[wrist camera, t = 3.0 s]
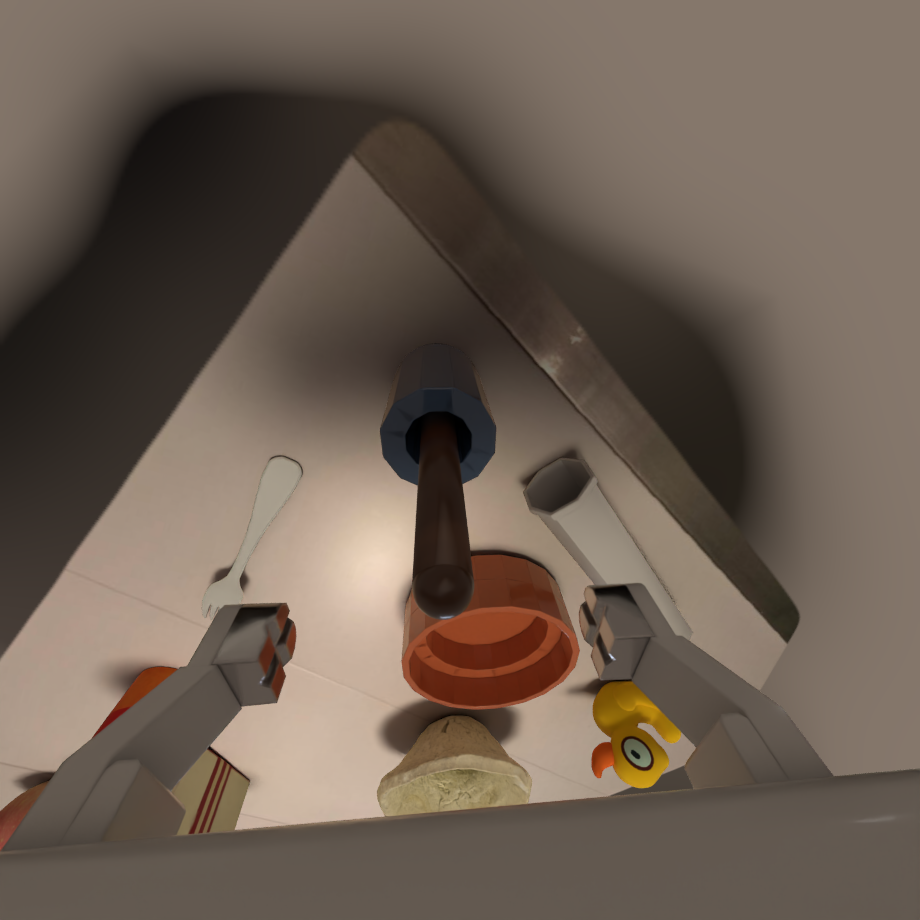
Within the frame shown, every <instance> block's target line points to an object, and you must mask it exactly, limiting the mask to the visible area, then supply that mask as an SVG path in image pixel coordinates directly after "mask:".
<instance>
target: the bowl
mask: <svg viewBox="0 0 920 920" xmlns="http://www.w3.org/2000/svg"><path fill="white" fill-rule="evenodd" d="M531 786H532V779H531V777H530V775H529V774H528V773H527V771H526V770H525V769H524V768H523V767H522V766H520V765H519V764H518V763H517V762H516V761H514V760H513V759H512V758H510V757H509V756H508V754H507V753H506V752H505V750H504V749H503V747H502V746H501V745H500V744H499V743H498V741H497V740H496V739H495V738H494V737H493V736H492V735H491V734H490V732H489V731H488V730H487V729H486V727H485V726H484V725H483V724H481V723H480V722H478V721H476V720H474V719H473V718H471V717H468V716H455V715H453V716H448V717H445V718H442V719H441V720H438V721H435V722H434V723H431V724H430V725H429V726H428V727H427V728H426V730H425V731H424V732H423V733H422V734H421V735H420V736H419V738H418V739H417V741H416V743H415V744H414V746H413V747H412V748H411V749H410V751H409V752H408V753H407V755H406V756H405V757H404V759H403V760H402V762H401V763H400V764H399V765H398V766H397V767H396V768H395V769H393V770H392V771H390V772H389V773H387V774H386V775H385V776H384V777H383V778H382V780H381V782H380V786H379V787H378V790H377V799H378V802H379V805H380V807H381V809H382V811H383V813H384V815H385V817H386V816H397V815H408V814H419V813H430V812H442V811H453V810H464V809H475V808H486V807H497V806H508V805H519V804H528V800H529V796H530V791H531Z"/></svg>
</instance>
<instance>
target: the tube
mask: <svg viewBox="0 0 920 920" xmlns="http://www.w3.org/2000/svg"><path fill="white" fill-rule="evenodd" d="M597 482H598V480H597V479H596V477H595V476H594V474H593V473H592V471H591V470H590V468H589V467H588V465H587V464H586V462H585V461H584V460H578V459H570V458H562V457H561V458H559V459H558V460H556V461H554V462H553V463H551V464H549V465H548V466H546V467H544V468H543V469H541V470H539V471H538V472H537V473H536V475H535V476H534V478H533V479H532V480H531V482H530V483H529V485H528V486H527V487H526V489H525V490H524V491H523V493H524V496H525V499H526V502H527V504H528V507H529V510H530V511H531V512H532V513H533V514H535V515H538V516H539V517H540V518H541V519H542V521H543V522H544V523H545V524H546V525H547V527H548V528H549V529H550V530H551V532H552V533H553V534H554V535H555V536H556V538H557V539H558V540H559V541H560V543H561V544H562V545H563V546H564V547H565V549H566V550H567V551H568V552H569V554H570V555H571V556H572V557H573V558H574V560H575V561H576V562H577V563H578V565H579V566H580V567H581V568H582V569H583V571H584V572H585V573H586V574H587V576H588V577H589V578H590V579H591V580H592V582H593V583H594V584H595V585H606V584H628V583H642V584H643V585H644V586H645V587H646V588H647V590H648V591H649V593H650V595H651V596H652V598H653V599H654V601H655V603H656V604H657V606H658V607H659V609H660V611H661V612H662V614H663V615H664V617H665V619H666V620H667V622H668V623H669V625H670V627H671V628H672V630H673V631H674V633H675V635H676V636H683V637H684V638H686V639H687V640H690V637H691V635H692V633H693V632H692V630H691V628H690V627H689V625H688V624H687V622H686V621H685V619H684V618H683V616H682V615H681V613H680V612H679V610H678V609H677V607H676V606H675V604H674V603H673V601H672V599H671V598H670V596H669V595H668V593H667V592H666V590H665V589H664V587H663V586H662V584H661V583H660V581H659V580H658V578H657V577H656V575H655V574H654V572H653V571H652V569H651V567H650V566H649V564H648V563H647V561H646V560H645V558H644V557H643V555H642V554H641V552H640V551H639V549H638V548H637V546H636V545H635V543H634V542H633V540H632V538H631V537H630V535H629V534H628V532H627V531H626V529H625V528H624V526H623V525H622V523H621V522H620V520H619V519H618V517H617V516H616V514H615V513H614V511H613V509H612V508H611V506H610V505H609V503H608V502H607V500H606V499H605V497H604V496H603V494H602V493H601V491H600V490H599V488H598V487H597V485H596V483H597Z"/></svg>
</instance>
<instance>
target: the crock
mask: <svg viewBox="0 0 920 920" xmlns="http://www.w3.org/2000/svg"><path fill="white" fill-rule="evenodd" d="M443 411H447V412H449V413H451V414H453V415H454V418H455V426H456V435H457V443H458V451H459V460H460V468H461V477H462V484H464V483H466V482H468V481H470V480H472V479H474V478H476V477H478V476H479V474H480V473H481V472H482V470H483V469H484V467H485V466H486V465H487V463H488V462H489V460H490V459H491V458H492V456H493V455H494V453H495V441H496V425H495V422H494V419H493V416H492V413H491V410H490V407H489V404H488V400H487V397H486V394H485V391H484V388H483V385H482V382H481V379H480V376H479V375H478V373H477V371H476V369H475V366H474V364H473V363H472V361H471V360H470V358H468V356H467V355H465V354H464V353H463V352H462V351H460V350H459V349H457V348H455V347H453V346H450V345H446V344H439V343H434V344H427V345H423V346H420V347H418V348H416V349H414V350H413V351H411V352H410V353H409V354H408V355H407V356H406V357H405V358H404V359H403V360H402V362H401V363H400V365H399V367H398V369H397V372H396V374H395V376H394V379H393V382H392V386H391V390H390V394H389V397H388V401H387V405H386V409H385V412H384V416H383V420H382V424H381V427H380V436H381V445H382V453H383V457H384V459H385V460H386V461H387V462H388V464H389V465H390V466H391V467H392V469H393V470H394V471H395V472H396V473H397V475H398V476H399V477H400V478H401V479H404V480H406V481H408V482H411V483H413V484H415V485H418V476H419V458H420V441H421V423H422V416H423V415H424V414H426V413H428V412H443Z"/></svg>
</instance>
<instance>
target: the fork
mask: <svg viewBox="0 0 920 920" xmlns="http://www.w3.org/2000/svg"><path fill="white" fill-rule="evenodd" d="M301 476H302V470H301V468H300V466H299V465H298V463H297V462H295V461H292V460H290V459H288V458H285V457H283V456H282V457H274V458H273V459H271V460H270V461H269V462H268V464H267V466H266V468H265V470H264V472H263V474H262V477H261V480H260V484H259V487H258V491H257V494H256V498H255V503H254V507H253V511H252V516H251V519H250V522H249V526H248V529H247V532H246V536H245V538H244V541H243V543H242V546H241V549H240V551H239V553H238V556H237V558H236V560H235V563H234V565H233V567H232V569H231V570H230V572H229V574H228V575H227V576H226V577H225V578H223V579H222V580H220V581H217V582H214V583H213V584H211V585H210V586H209V587H208V589H207V591H206V593H205V595H204V597H203V600H202V615H203V617H204V618H206V616H207V612H208V610H209V607H210V605H211V609H210V619H211V620H212V619H213V617H214V615H215V613H216V610H217V608H218V607H219V610H220V609H221V608H222V607H223V606H224V605H231V604H240V602H241V600H242V598H243V591H242V589H241V587H240V582H239V579H240V577H241V575H242V572H243V570H244V568H245V566H246V564H247V562H248V560H249V558H250V556H251V555H252V553H253V551H254V549H255V547H256V546H257V544H258V542H259V540H260V539H261V537H262V536H263V534H264V533H265V531H266V529H267V528H268V526H269V525H270V523H271V522H272V521H273V519H274V518H275V517H276V515H277V514H278V513H279V511H280V510H281V509H282V507H283V506H284V505H285V503H286V502H287V500H288V499H289V497H290V496H291V494H292V493H293V492H294V490H295V488H296V486H297V484H298V482H299V480H300V478H301ZM219 610H218V611H219Z"/></svg>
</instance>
